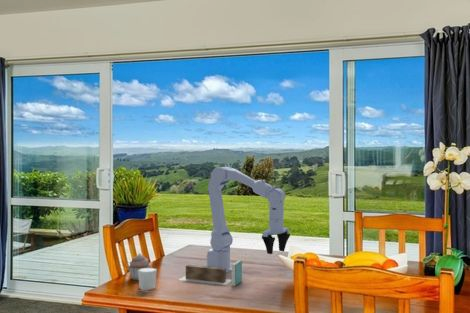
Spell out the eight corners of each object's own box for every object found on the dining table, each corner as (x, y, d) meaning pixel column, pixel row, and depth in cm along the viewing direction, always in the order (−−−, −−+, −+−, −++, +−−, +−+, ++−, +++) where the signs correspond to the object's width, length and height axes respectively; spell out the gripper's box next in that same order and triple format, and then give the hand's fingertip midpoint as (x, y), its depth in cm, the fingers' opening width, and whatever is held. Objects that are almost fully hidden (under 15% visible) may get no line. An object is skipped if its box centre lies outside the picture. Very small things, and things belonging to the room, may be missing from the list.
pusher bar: (185, 278, 185) (185, 265, 185) (188, 277, 188) (188, 264, 188) (223, 282, 180) (223, 269, 180) (225, 281, 182) (225, 268, 182)
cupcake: (139, 274, 194) (140, 249, 193) (156, 277, 188) (156, 252, 188) (122, 279, 186) (122, 253, 186) (138, 283, 180) (138, 257, 180)
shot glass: (160, 286, 175) (160, 268, 175) (150, 292, 169) (150, 272, 169) (143, 285, 178) (143, 266, 178) (134, 290, 171) (134, 271, 171)
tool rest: (177, 280, 183) (177, 279, 183) (186, 275, 191) (186, 274, 191) (225, 286, 177) (225, 285, 177) (233, 280, 184) (233, 279, 184)
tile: (231, 285, 176) (231, 264, 176) (238, 280, 183) (238, 260, 183) (235, 286, 176) (235, 264, 176) (241, 281, 182) (242, 260, 182)
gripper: (272, 221, 181) (271, 256, 182) (295, 218, 192) (294, 251, 192) (258, 219, 186) (258, 253, 187) (281, 216, 197) (281, 248, 197)
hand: (275, 252), depth 190 cm, fingers open, 7 cm apart
